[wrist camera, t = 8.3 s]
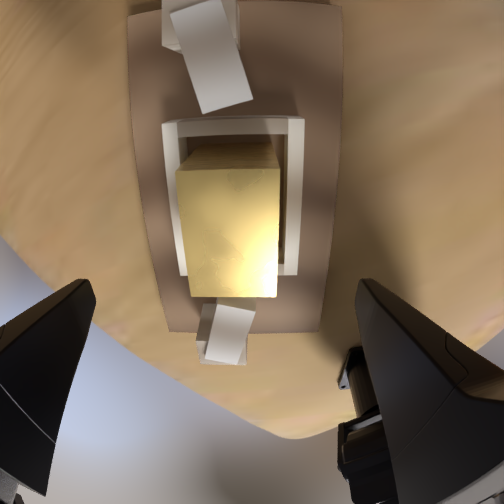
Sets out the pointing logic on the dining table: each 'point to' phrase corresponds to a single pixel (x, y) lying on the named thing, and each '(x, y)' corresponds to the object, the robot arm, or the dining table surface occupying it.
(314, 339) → the dining table surface
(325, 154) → the coupling base
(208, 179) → the tan rectangular block
